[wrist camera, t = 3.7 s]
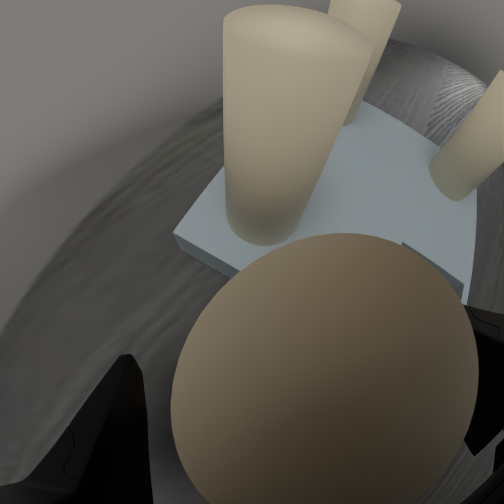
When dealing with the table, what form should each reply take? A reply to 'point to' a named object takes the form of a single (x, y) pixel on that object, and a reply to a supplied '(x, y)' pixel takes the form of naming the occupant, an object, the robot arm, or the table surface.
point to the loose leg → (326, 378)
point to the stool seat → (334, 147)
